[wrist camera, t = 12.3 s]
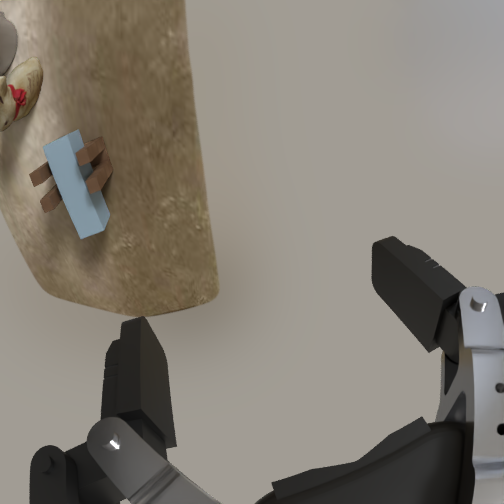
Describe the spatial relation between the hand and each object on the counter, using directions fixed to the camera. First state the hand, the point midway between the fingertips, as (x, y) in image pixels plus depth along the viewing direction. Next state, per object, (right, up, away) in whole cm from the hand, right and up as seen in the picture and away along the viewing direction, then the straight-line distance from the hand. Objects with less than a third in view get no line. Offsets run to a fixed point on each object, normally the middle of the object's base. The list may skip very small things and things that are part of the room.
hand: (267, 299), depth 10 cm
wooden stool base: (-21, +12, +23) cm, 33 cm away
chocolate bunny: (-27, +21, +16) cm, 38 cm away
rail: (-20, +10, +22) cm, 31 cm away
